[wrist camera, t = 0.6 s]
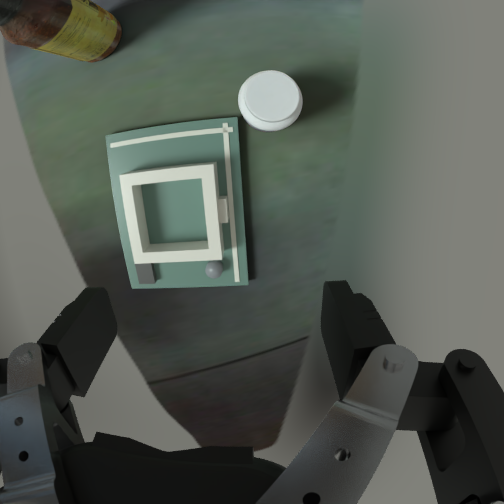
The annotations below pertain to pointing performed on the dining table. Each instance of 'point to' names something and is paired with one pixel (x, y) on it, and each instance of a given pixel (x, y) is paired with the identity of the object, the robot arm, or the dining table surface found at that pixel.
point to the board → (180, 204)
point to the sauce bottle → (61, 27)
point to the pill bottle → (270, 101)
